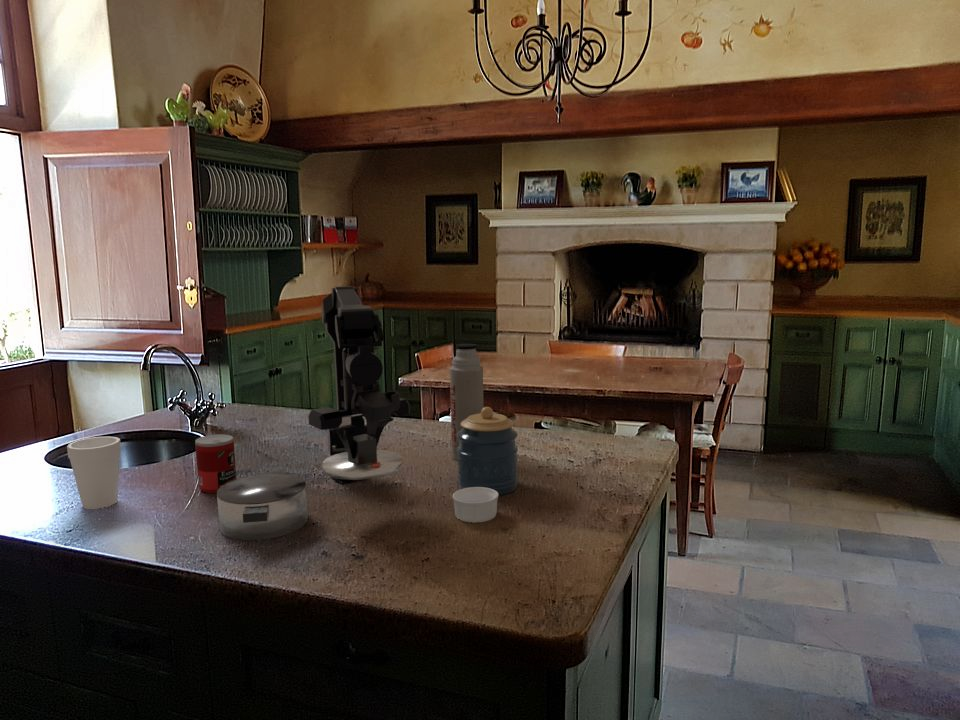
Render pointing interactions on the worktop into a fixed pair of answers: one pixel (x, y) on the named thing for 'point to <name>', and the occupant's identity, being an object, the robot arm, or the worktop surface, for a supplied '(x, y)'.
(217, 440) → the canned food
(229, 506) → the pot
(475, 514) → the ramekin
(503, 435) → the canister
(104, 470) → the foam cup
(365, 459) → the lid
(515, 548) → the worktop surface
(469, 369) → the thermos bottle
